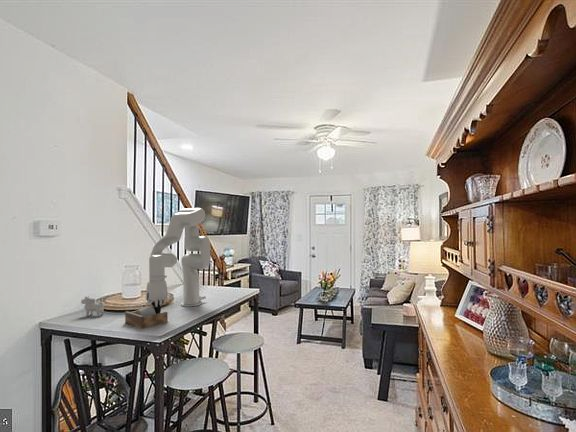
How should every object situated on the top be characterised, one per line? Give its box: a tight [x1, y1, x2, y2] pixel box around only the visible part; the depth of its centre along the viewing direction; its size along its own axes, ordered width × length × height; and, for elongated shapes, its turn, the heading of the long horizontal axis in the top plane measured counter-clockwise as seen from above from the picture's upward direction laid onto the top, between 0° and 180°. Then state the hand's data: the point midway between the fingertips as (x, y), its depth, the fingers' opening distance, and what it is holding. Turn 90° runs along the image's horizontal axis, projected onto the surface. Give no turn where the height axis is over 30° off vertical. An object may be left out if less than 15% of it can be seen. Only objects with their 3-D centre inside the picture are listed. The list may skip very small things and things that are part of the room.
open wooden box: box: [124, 310, 168, 329], centre depth 172 cm, size 14×16×6 cm
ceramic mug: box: [135, 305, 155, 317], centre depth 171 cm, size 11×8×8 cm
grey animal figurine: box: [80, 295, 105, 318], centre depth 189 cm, size 5×13×11 cm, turn 83°
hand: (157, 313), depth 176 cm, fingers closed
